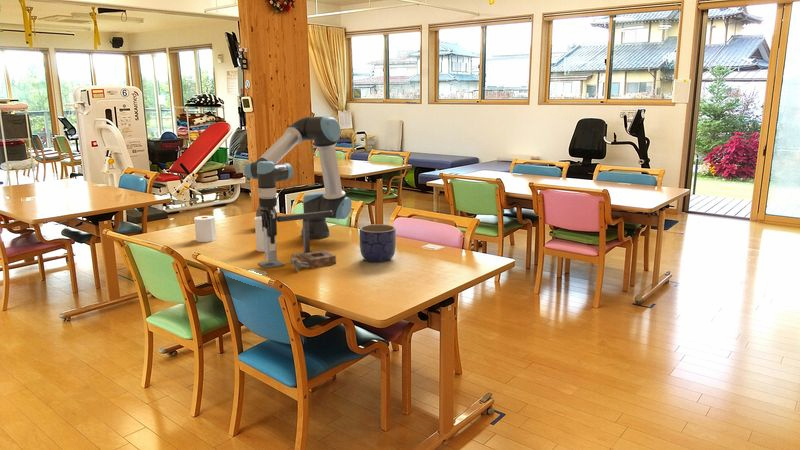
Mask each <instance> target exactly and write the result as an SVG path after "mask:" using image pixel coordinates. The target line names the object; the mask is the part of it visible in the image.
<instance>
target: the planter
mask: <svg viewBox="0 0 800 450" xmlns="http://www.w3.org/2000/svg"><path fill="white" fill-rule="evenodd" d="M358 236H359V250H360V255H361V256H362V258H363V259H364V260H366V261H367V262H371V263H386V262H388V261H390V260H392V258H393V257H394V255H395V253H396V249H397V248H396V247H397V241H396V240H397V231H396V227H395V226H394V225H390V224H382V223H380V224H379V223H378V224H377V223H375V224H373V223H372V224H367V225H366V224H365V225H362V226H360V227H359V235H358Z"/></svg>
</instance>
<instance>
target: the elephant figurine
mask: <svg viewBox="0 0 800 450" xmlns="http://www.w3.org/2000/svg"><path fill="white" fill-rule="evenodd" d="M295 256H296V253H295V254H294V253H292V254H291V257H290V264H291V265H292V266H294V268H295V270H296V273H297V274H298V273H299V269H300V268H305V269H309V268H310V267H309V265H308V266H307V264H308V263H306V262H301V261H300V260H299V257H297V258H295Z"/></svg>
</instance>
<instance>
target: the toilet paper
mask: <svg viewBox="0 0 800 450" xmlns="http://www.w3.org/2000/svg"><path fill="white" fill-rule="evenodd" d="M193 220H194V230H195V231H194V232H195V242H198V243H209V242H214V241H216V240H217V235H216V234H217V233H216V232H217V231H216V219H215V216H214V215H199V216H195V217H194V219H193Z"/></svg>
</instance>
